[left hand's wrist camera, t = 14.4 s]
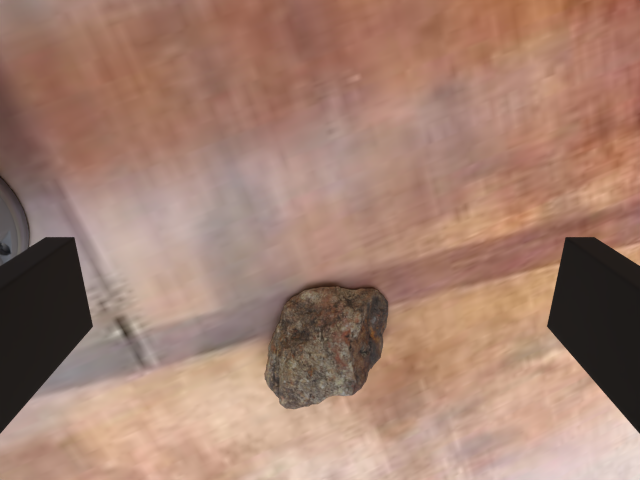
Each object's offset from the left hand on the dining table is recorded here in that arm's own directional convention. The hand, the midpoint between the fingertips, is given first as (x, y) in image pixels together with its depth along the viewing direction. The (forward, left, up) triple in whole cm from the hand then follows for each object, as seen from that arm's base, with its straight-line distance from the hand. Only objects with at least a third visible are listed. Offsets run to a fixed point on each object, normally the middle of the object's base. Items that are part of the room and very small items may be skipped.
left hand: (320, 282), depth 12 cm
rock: (+20, -9, -34) cm, 40 cm away
